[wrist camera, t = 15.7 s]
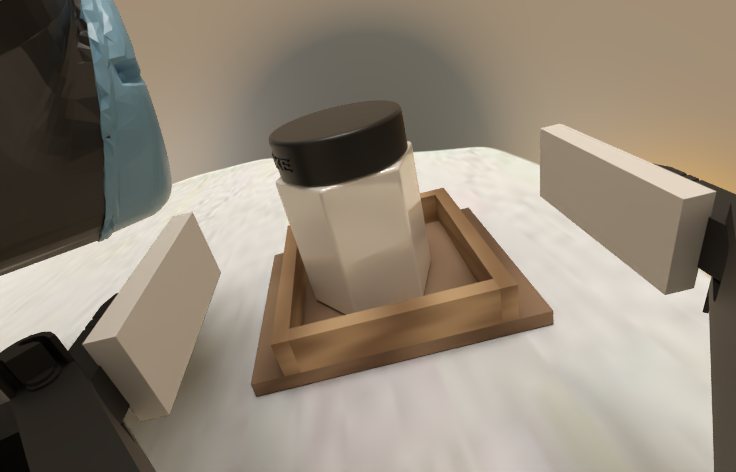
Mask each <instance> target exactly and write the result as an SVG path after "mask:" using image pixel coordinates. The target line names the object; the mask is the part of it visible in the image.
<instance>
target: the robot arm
mask: <svg viewBox="0 0 736 472" xmlns="http://www.w3.org/2000/svg"><path fill="white" fill-rule="evenodd" d="M171 187H172V183H171V172H170V166H169V161H168V156H167V152H166V148H165V144H164V140H163V137H162V133H161V130H160V126H159V123H158V120H157V116H156V113H155V109H154V106H153V104H152V100H151V97H150V95H149V92H148V89H147V86H146V84H145V82H144V80H143V79H142V78H141V76H140V68H139V65H138V63H137V60H136V57H135V53H134V49H133V46H132V43H131V40H130V38H129V35H128V33H127V31H126V28H125V26H124V23H123V21H122V19H121V16H120V14H119V12H118V10H117V7H116V5H115V3H114V1H113V0H0V276H1V275H4V274H7V273H10V272H12V271H15V270H18V269H21V268H23V267H26V266H29V265H32V264H34V263H37V262H40V261H43V260H45V259H48V258H51V257H54V256H56V255H59V254H62V253H65V252H67V251H70V250H73V249H76V248H78V247H81V246H84V245H87V244H89V243H92V242H95V241H98V242H100V241H103V240H104V239H107V238H109V237H110V236H111V235H112V233H113V232H115V231H118V230H120V229H122V228H125V227H127V226H129V225H131V224H134V223H136V222H138V221H140V220H143V219H145V218H147V217H150V216H152V215H154V214H155V213H157V212H158V211H159V210H160V209H161V208H162V207H163V206H164V205H165V204H166V202H167V201H168V199H169V196H170V193H171ZM540 196H541V197H542V198H543V199H545V200H546V201H547V202H549V203H550V204H551V205H552V206H554V207H555V208H556V209H557V210H559V211H560V212H561V213H562V214H564V215H565V216H566V217H567V218H569V219H570V220H571V221H572V222H574V223H575V224H576V225H577V226H579V227H580V228H581V229H583V230H584V231H585V232H586V233H588V234H589V235H590V236H591V237H593V238H594V239H595V240H596V241H598V242H599V243H600V244H601V245H603V246H604V247H605V248H606V249H608V250H609V251H610V252H612V253H613V254H614V255H615V256H617V257H618V258H619V259H620V260H622V261H623V262H624V263H625V264H627V265H628V266H629V267H630V268H632V269H633V270H634V271H635V272H637V273H638V274H639V275H640V276H642V277H643V278H644V279H646V280H647V281H648V282H649V283H651V284H652V285H653V286H654V287H656V288H657V289H658V290H659V291H661V292H662V293H663V294H664V295H667V294H671V293H675V292H680V291H684V290H688V289H692V288H694V285H695V281H696V277H697V273H698V268H700V269H701V270H703V271H704V272H706V273H707V274H709V275H710V276H712V277H711V281H710V285H709V289H708V293H707V297H706V301H705V305H704V309H703V312H704V313H709V320H710V352H711V384H712V415H713V447H714V472H736V194H734V193H731V192H729V191H726V190H724V189H722V188H719V187H717V186H715V185H712V184H710V183H707V182H705V181H703V180H701V181H699V179H698V178H696V177H693V176H691V175H687V174H686V173H684V172H681V171H679V170H677V169H674V168H672V167H668V166H662V165H657V164H652V163H650V162H647V161H645V160H643V159H641V158H638V157H636V156H634V155H631V154H629V153H627V152H625V151H622V150H620V149H618V148H615V147H613V146H610V145H608V144H606V143H604V142H602V141H599V140H597V139H595V138H592V137H590V136H588V135H585V134H583V133H581V132H579V131H576V130H574V129H572V128H569V127H567V126H565V125H563V124H557V125H553V126H549V127H544V128H541V129H540ZM220 274H221V272H220V270H219V268H218V265H217V263H216V261H215V259H214V257H213V255H212V253H211V250H210V248H209V246H208V244H207V242H206V240H205V238H204V235H203V233H202V231H201V229H200V227H199V225H198V223H197V221H196V218H195V216H194V214H193V212H191V213H186V214H182V215H178V216H174V217H172V218H171V219H170V221H169V222H168V224H167V225H166V226H165V228H164V229H163V231H162V232H161V233H160V235H159V236H158V238H157V239H156V241H155V242H154V243H153V245H152V246H151V248H150V249H149V250H148V252H147V253H146V255H145V256H144V258H143V259H142V260H141V262H140V263H139V265H138V266H137V267H136V269H135V270H134V272H133V273H132V275H131V276H130V277H129V279H128V280H127V282H126V283H125V284H124V286H123V287H122V289H121V290H120V292H119V293H117V294H115V295H114V296H112V297H111V298H110V299H109V300H108V301H106V302H105V303H104V304H103V305H102V306H101V307H100V308H99V310H98V311H97V312H96V314H95V315H94V316H93V320H91V321H90V322H89V323H88V325H87V326H86V327H85V330H83V331H82V333H81V334H80V336H79V337H78V338H77V340H76V341H75V342H74V344H73V345H72V346H71V348H70V349H69V351H68V350H67V349H66V348H65V347H64V345H63V344H62V343H61V341H60V340H59V339H58V338H57V336H56V335H55V334H53V333H52V332H41V333H37V334H34V335H30V336H28V337H26V338H24V339H22V340H20V341H18V342H16V343H14V344H13V345H11V346H9V347H8V348H6V349H5V350H3V351H2V352H1V353H0V472H156V471H155V469H154V468H153V466H152V465H151V463H150V461H149V460H148V458H147V457H146V455H145V453H144V452H143V450H142V449H141V447H140V445H139V444H138V442H137V441H136V439H135V437H134V436H133V434H132V433H131V431H130V429H129V428H128V427H127V426H126V424H125V423H124V422H123V419H124V417H125V415H126V413H127V410H128V408H129V407H130V409H131V410H132V411H133V413H134V414H135V415H136V417H137V418H138V419H139V420H140V422H142V421H146V420H150V419H154V418H158V417H163V416H167V415H170V412H171V409H172V407H173V404H174V401H175V398H176V396H177V393H178V390H179V387H180V385H181V382H182V379H183V376H184V373H185V371H186V368H187V365H188V362H189V360H190V357H191V354H192V351H193V349H194V346H195V343H196V340H197V338H198V335H199V332H200V329H201V327H202V324H203V321H204V318H205V315H206V313H207V310H208V307H209V304H210V302H211V299H212V296H213V293H214V291H215V288H216V285H217V282H218V280H219V277H220Z"/></svg>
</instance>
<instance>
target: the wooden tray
mask: <svg viewBox="0 0 736 472" xmlns="http://www.w3.org/2000/svg"><path fill="white" fill-rule="evenodd" d="M420 198H421V203H422V209H423V215H424V221H425V227H426V233H427V239H428V245H429V251H430V257H431V262H430V267H429V272H428V277H427V281H426V286H425V291H424V296H421V297H417V298H413V299H409V300H405V301H400V302H396V303H392V304H388V305H384V306H380V307H376V308H372V309H368V310H364V311H360V312H356V313H351V314H347V315H345V314H343V313H342V312H340V311H338V310H336V309H334V308H332V307H330V306H328V305H326V304H324V303H322V302H320V301H318V300H317V299H316V298H315V295H314V292H313V289H312V287H311V284H310V281H309V278H308V275H307V272H306V269H305V267H304V264H303V261H302V258H301V255H300V252H299V249H298V246H297V244H296V241H295V238H294V235H293V232H292V229H291V226H288V229H287V235H286V242H285V249H284V253H282V254H278V255H275V257H274V262H273V268H272V273H271V279H270V284H269V290H268V295H267V300H266V306H265V311H264V317H263V322H262V328H261V333H260V338H259V344H258V349H257V355H256V360H255V366H254V371H253V376H252V382H251V386H252V388H253V390H254V392H255V394H256V396H260V395H264V394H269V393H273V392H277V391H281V390H285V389H289V388H293V387H297V386H301V385H305V384H309V383H314V382H318V381H322V380H326V379H330V378H334V377H338V376H342V375H346V374H350V373H354V372H359V371H363V370H367V369H371V368H375V367H379V366H383V365H387V364H391V363H395V362H399V361H404V360H408V359H412V358H416V357H420V356H424V355H428V354H432V353H436V352H440V351H444V350H449V349H453V348H457V347H461V346H465V345H469V344H473V343H477V342H481V341H485V340H489V339H494V338H498V337H502V336H506V335H510V334H514V333H518V332H522V331H526V330H530V329H534V328H539V327H543V326H547V325H551V324H553V310H552V309H551V307H550V306H549V305H548V304H547V303H546V301H545V300H544V299H543V298H542V297H541V295H540V294H539V293H538V292H537V290H536V289H535V288H534V287H533V286H532V284H531V283H530V282H529V281H528V280H527V278H526V277H525V276H524V275H523V273H522V272H521V271H520V270H519V269H518V267H517V266H516V265H515V264H514V262H513V261H512V260H511V259H510V258H509V256H508V255H507V254H506V253H505V252H504V250H503V249H502V248H501V247H500V245H499V244H498V243H497V242H496V241H495V239H494V238H493V237H492V236H491V235H490V233H489V232H488V231H487V230H486V228H485V227H484V226H483V225H482V224H481V222H480V221H479V220H478V219H477V218H476V216H475V215H474V214H473V213H472V211H471V210H470V209H469V208H465V209H461V210H460V209H459V207H458V206H457V205H456V203H455V202H454V201H453V200H452V198H451V197H450V196H449V194H448V193H447V192H446V190H445V189H444V188H440V189H436V190H432V191H428V192H424V193H420Z"/></svg>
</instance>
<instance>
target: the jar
mask: <svg viewBox="0 0 736 472" xmlns="http://www.w3.org/2000/svg"><path fill="white" fill-rule="evenodd" d="M269 143H270V146H271V149H272V153H273V154H272V156H273V159H274V162H275V165H276V167H277V168H278V169H279V172H280V175H281V177H280V178H279V179H278V180H277V181H276V186H277V189H278V192H279V195H280V198H281V200H282V203H283V206H284V209H285V212H286V215H287V218H288V221H289V223H290V226H291V229H292V232H293V235H294V238H295V241H296V244H297V246H298V249H299V252H300V255H301V258H302V261H303V264H304V267H305V269H306V272H307V275H308V278H309V281H310V284H311V287H312V289H313V292H314V295H315V298H316V299H317V300H318V301H320V302H322V303H324V304H326V305H328V306H330V307H332V308H334V309H336V310H338V311H340V312H342V313H343V314H345V315H347V314H351V313H356V312H360V311H364V310H368V309H372V308H376V307H380V306H384V305H388V304H392V303H396V302H400V301H405V300H409V299H413V298H417V297H421V296H424V291H425V286H426V281H427V277H428V272H429V267H430V262H431V257H430V251H429V245H428V239H427V233H426V227H425V221H424V215H423V209H422V203H421V198H420V192H419V186H418V180H417V174H416V168H415V162H414V156H413V150H412V144H411V143H410V142H409V141H407V138H406V133H405V127H404V121H403V116H402V110H401V107H400V106H399V104H397V103H395V102H391V101H367V102H358V103H352V104H347V105H342V106H337V107H333V108H329V109H326V110H322V111H318V112H315V113H312V114H309V115H306V116H303V117H300V118H298V119H295V120H293V121H291V122H289V123H286V124H284V125H283V126H281V127H279V128H278V129H276V130H275V131H274V132H273V133H272V134H271V135H270V137H269Z"/></svg>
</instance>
